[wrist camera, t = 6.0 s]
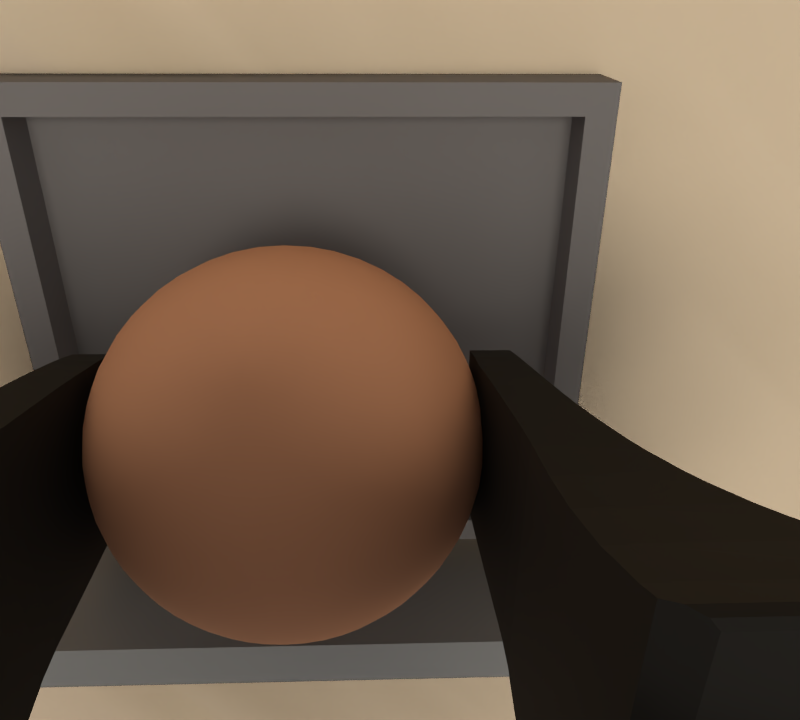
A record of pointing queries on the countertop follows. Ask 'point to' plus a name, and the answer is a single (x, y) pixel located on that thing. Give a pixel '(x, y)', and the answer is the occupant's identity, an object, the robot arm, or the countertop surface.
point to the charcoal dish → (311, 195)
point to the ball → (282, 445)
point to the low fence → (250, 662)
